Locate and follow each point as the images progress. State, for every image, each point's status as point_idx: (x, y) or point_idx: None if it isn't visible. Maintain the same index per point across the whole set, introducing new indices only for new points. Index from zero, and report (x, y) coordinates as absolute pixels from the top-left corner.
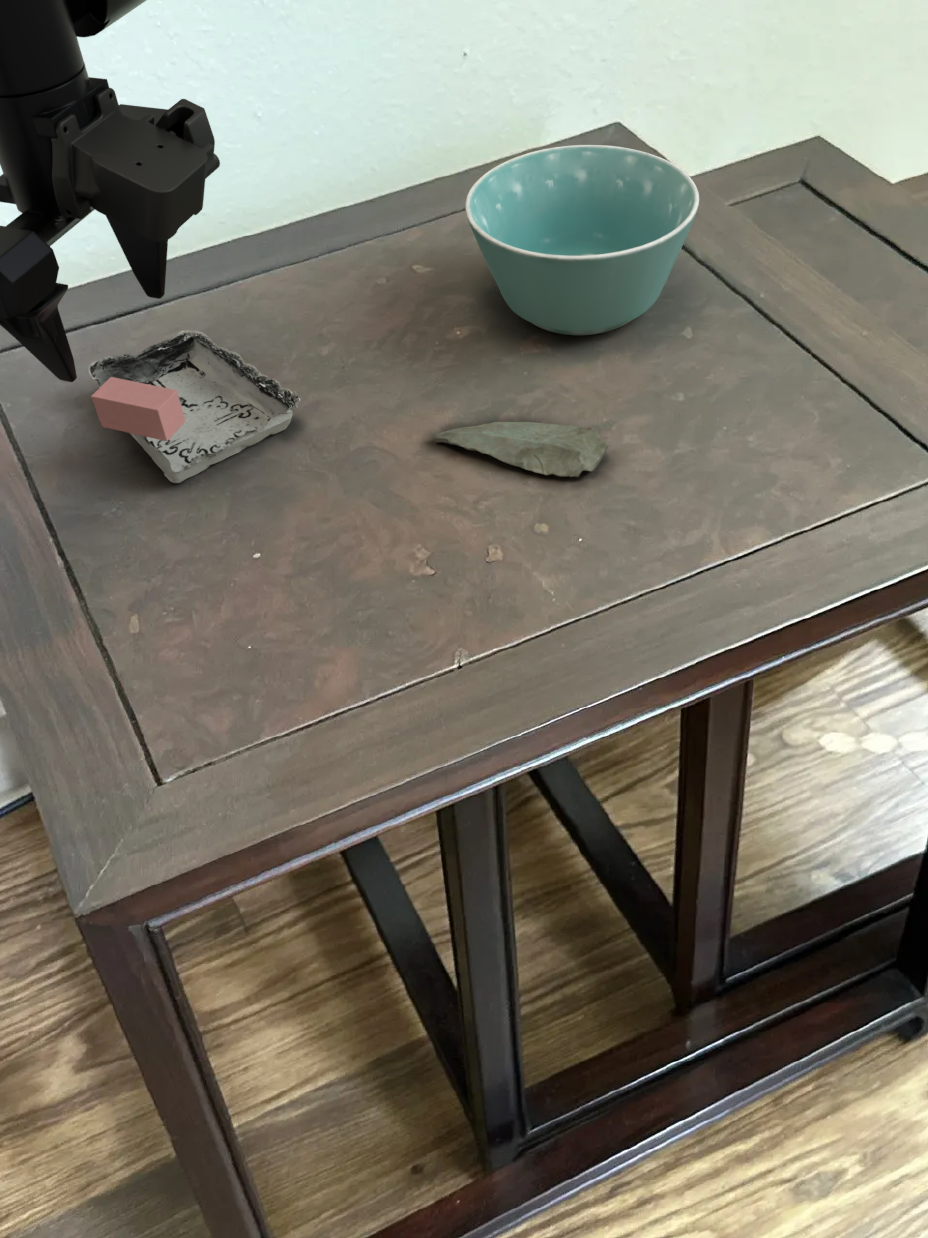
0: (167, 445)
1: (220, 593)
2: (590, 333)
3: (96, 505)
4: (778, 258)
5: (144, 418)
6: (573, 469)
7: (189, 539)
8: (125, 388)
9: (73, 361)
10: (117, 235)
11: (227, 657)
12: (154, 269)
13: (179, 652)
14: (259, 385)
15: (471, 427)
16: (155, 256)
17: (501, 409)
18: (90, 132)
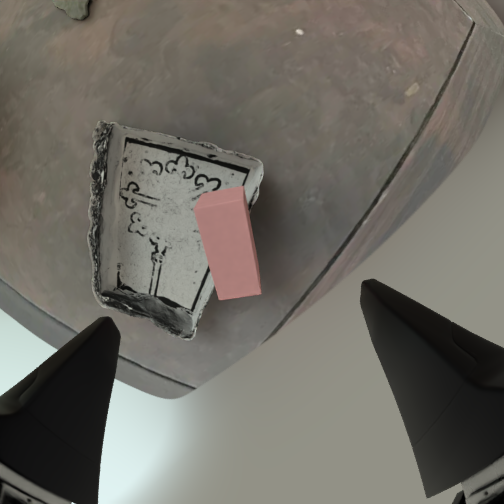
0: None
1: (355, 38)
2: None
3: (314, 218)
4: None
5: (248, 218)
6: None
7: (314, 101)
8: (228, 270)
9: (380, 296)
10: (101, 432)
11: (399, 9)
12: (86, 352)
13: (415, 43)
14: (103, 182)
15: (66, 7)
16: (70, 366)
17: (40, 22)
18: None
